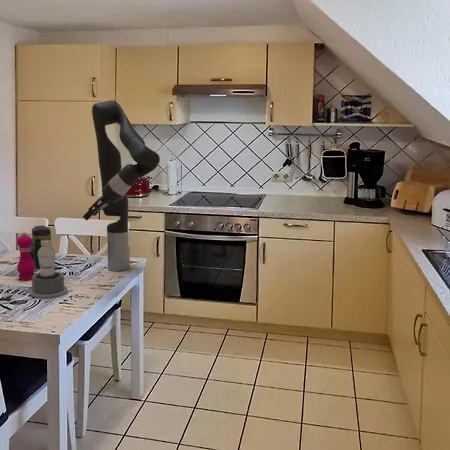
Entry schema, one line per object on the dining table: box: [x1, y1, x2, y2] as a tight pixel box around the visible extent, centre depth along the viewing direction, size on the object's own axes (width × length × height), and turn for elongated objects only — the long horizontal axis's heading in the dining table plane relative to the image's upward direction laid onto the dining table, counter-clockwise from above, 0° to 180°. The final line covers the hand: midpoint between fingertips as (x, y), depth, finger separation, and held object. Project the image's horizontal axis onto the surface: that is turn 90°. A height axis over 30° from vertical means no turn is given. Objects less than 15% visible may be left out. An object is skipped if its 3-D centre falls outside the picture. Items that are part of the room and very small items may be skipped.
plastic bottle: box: [38, 238, 56, 279], centre depth 210 cm, size 6×7×20 cm
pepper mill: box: [16, 231, 36, 281], centre depth 228 cm, size 7×7×20 cm
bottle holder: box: [28, 271, 68, 299], centre depth 212 cm, size 14×14×7 cm
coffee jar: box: [31, 225, 52, 269], centre depth 246 cm, size 10×8×19 cm
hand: (88, 216), depth 211 cm, fingers open, 8 cm apart
